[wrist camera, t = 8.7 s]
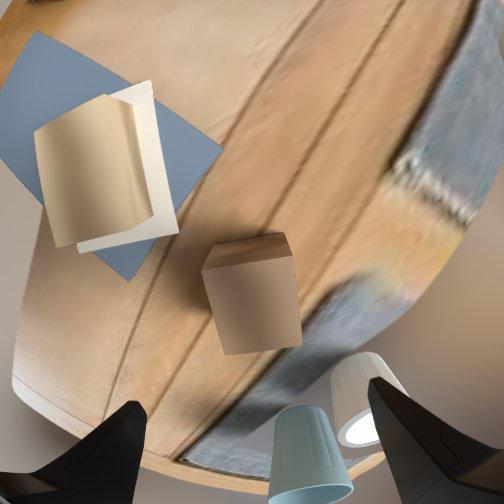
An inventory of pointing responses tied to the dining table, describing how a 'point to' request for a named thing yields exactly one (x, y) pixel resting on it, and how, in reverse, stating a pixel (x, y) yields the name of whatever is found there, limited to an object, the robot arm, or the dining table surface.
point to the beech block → (92, 171)
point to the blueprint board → (148, 130)
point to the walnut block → (253, 294)
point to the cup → (306, 460)
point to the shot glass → (357, 397)
